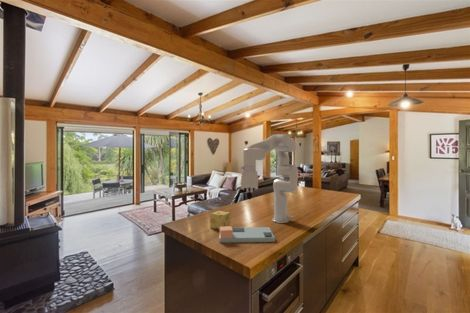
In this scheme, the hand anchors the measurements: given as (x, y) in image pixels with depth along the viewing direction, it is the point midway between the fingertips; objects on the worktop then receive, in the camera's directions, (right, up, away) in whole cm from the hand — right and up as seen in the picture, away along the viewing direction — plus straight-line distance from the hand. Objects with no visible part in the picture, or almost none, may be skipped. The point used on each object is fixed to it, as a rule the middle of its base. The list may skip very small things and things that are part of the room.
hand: (249, 198), depth 142 cm
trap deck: (-2, -23, 0) cm, 23 cm away
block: (-14, -21, -6) cm, 26 cm away
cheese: (-19, -23, +18) cm, 35 cm away
